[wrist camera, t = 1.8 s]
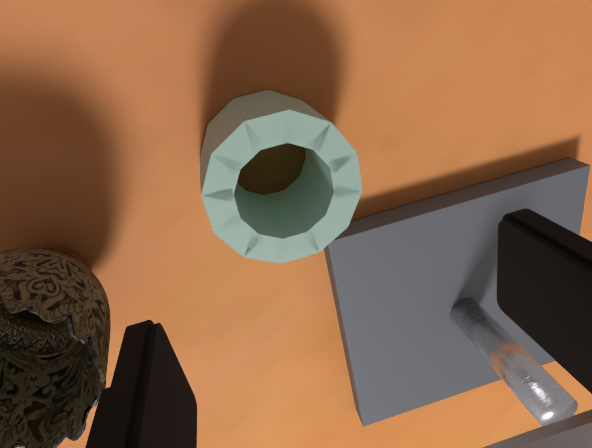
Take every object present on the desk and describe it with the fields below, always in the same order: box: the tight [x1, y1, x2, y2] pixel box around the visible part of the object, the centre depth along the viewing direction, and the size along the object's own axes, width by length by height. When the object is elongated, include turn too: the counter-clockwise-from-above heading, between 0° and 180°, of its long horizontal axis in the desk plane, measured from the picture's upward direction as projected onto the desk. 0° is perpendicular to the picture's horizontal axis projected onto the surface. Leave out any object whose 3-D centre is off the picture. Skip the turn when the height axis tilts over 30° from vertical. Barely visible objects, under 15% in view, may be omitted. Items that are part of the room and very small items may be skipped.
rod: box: [450, 298, 578, 426], centre depth 23 cm, size 2×2×8 cm
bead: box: [200, 90, 362, 264], centre depth 19 cm, size 6×6×5 cm
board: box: [324, 158, 590, 427], centre depth 27 cm, size 16×16×2 cm
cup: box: [0, 246, 110, 448], centre depth 18 cm, size 8×7×8 cm
